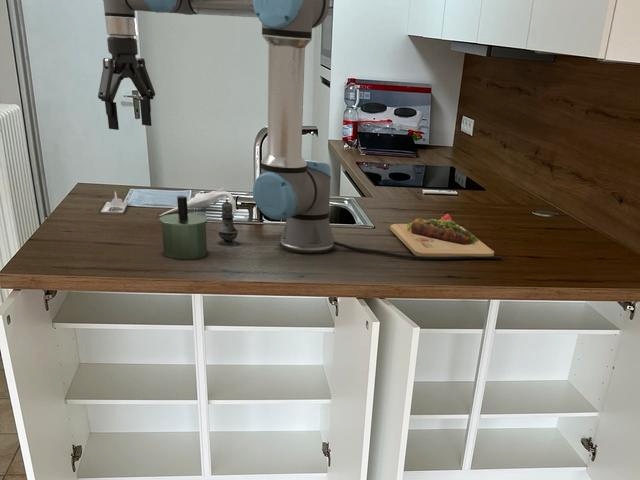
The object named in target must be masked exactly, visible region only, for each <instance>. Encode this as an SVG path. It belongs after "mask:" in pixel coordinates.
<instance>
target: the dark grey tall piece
mask: <svg viewBox="0 0 640 480" xmlns="http://www.w3.org/2000/svg"><path fill="white" fill-rule="evenodd" d="M233 214H234V213H233V212H232V204H231V203H229V199H228V198H227V199H225V202H223V203H222V204H221V215H220V218H221V221H222V222H221V227H219V228H217V233H218V236H219V238H220V239H221V240H220V241H219V242H218V244H219V245H220V246H227V247H233V246H237V245H238V244H239V243H238V242H237V241H236V240H235V239H236V238H237V237H238V233H239V229H237V228H235V226H234V218H235V215H233Z"/></svg>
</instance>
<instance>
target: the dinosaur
mask: <svg viewBox="0 0 640 480" xmlns="http://www.w3.org/2000/svg"><path fill="white" fill-rule="evenodd" d="M226 199H227V200H228V202H229V203H231V204H232V212H233V214H236V213H237V205H236V204H237V203H236V200H235V199H234V197H233V195H232V193H231V192H229V191H226V188H225V187H224V186H223V187H221V188H220V189H218V190H212V191H210V192H205V193H201V192H199V193H195V195H194V197H191V198H190V199H189V201H188V200H187V209H190V208H197V209H199V208H208V207H211V205H216V204H218V202H220V201H221V200H226ZM174 212H178V206H177V207H174V208H172V209H170V210H167V211H165V212H163V213H161V214H159V217H162V216H165V215H169V214H171V213H174Z"/></svg>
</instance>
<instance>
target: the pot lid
mask: <svg viewBox="0 0 640 480" xmlns="http://www.w3.org/2000/svg"><path fill="white" fill-rule="evenodd" d="M176 199H177V207H178V211H177V213H172V214H171V213H169V214H165V215H162V216H159V223H161V224H162V223H163V224H167V225H172V226H197V225H202V224H205V223H206V224H207V223H208V218H207V217H205V216H203V215H200V214H193V213H189V212H188V208H187V202H188V197H187V196H186V195H178V196H176Z"/></svg>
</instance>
